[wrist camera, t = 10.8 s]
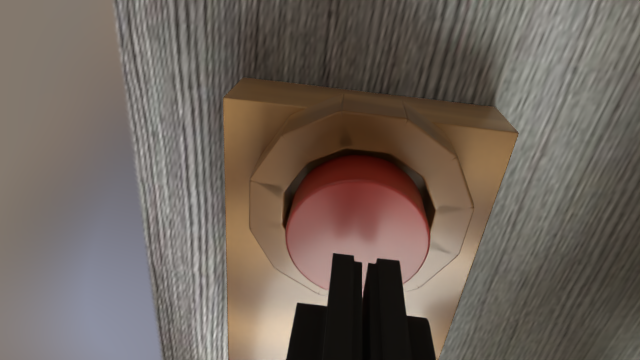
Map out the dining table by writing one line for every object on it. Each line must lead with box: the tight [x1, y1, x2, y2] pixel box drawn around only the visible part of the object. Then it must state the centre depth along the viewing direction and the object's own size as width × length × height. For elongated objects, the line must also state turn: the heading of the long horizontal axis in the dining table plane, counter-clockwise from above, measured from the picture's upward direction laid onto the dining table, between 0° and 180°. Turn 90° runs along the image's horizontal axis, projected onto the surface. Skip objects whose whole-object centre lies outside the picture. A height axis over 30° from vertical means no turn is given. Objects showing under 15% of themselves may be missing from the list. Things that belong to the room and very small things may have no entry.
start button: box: [285, 155, 430, 296], centre depth 13 cm, size 4×4×2 cm
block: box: [223, 77, 519, 360], centre depth 18 cm, size 17×10×4 cm, turn 174°
